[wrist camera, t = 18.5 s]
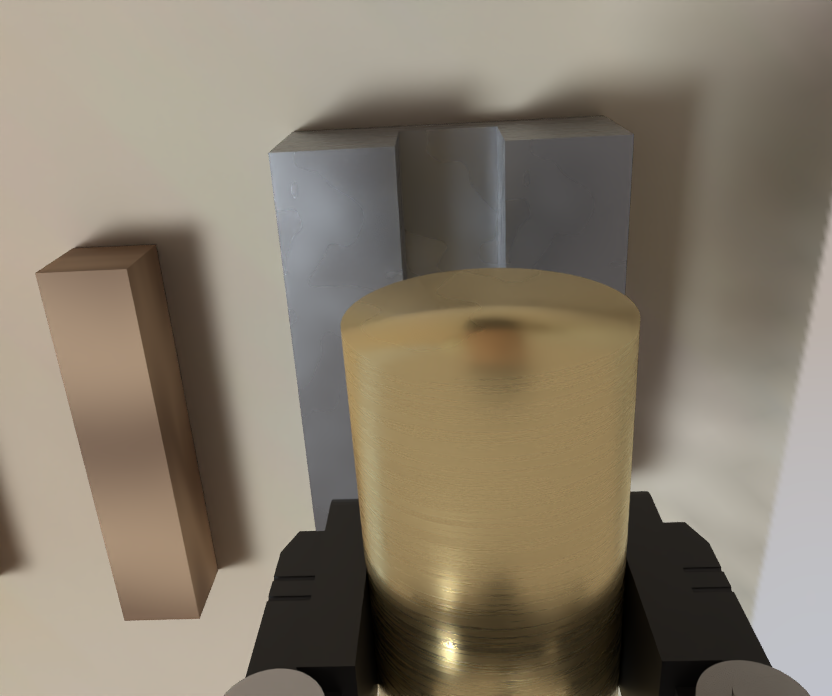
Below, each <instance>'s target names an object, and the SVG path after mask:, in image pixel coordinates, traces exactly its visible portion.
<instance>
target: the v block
mask: <svg viewBox="0 0 832 696" xmlns="http://www.w3.org/2000/svg"><path fill="white" fill-rule="evenodd" d="M633 143H634V134H633V133H631V132H629V131H628V130H626V129H625V128H623V127H621V126H620V125H618V124H616V123H615V122H613V121H612V120H610V119H608V118H607V117H605V116H588V117H569V118H550V119H531V120H511V121H492V122H473V123H454V124H435V125H415V126H396V127H377V128H358V129H339V130H319V131H300V132H292V133H291V134H290V135H288V136H287V137H286V138H285V139H284V140H283V141H282V142H280V143H279V144H278V145H277V146H276V147H275V148H274V149H272V150H271V151H270V152H269V153H268V154H269V161H270V169H271V177H272V185H273V193H274V201H275V209H276V217H277V225H278V233H279V241H280V249H281V257H282V265H283V273H284V281H285V289H286V297H287V305H288V313H289V321H290V329H291V337H292V344H293V352H294V360H295V368H296V376H297V384H298V392H299V400H300V408H301V416H302V424H303V432H304V440H305V448H306V456H307V464H308V472H309V480H310V488H311V496H312V504H313V512H314V519H315V527H316V531H325V528H326V523H327V518H328V513H329V509H330V504H331V501H332V499H358V489H357V480H356V470H355V461H354V451H353V442H352V432H351V422H350V413H349V403H348V394H347V384H346V375H345V365H344V356H343V346H342V337H341V325H340V324H341V320H342V317H343V315H344V314H345V312H346V311H347V310H348V309H349V308H350V307H351V306H352V305H353V304H354V303H355V302H356V301H358V300H359V299H361V298H362V297H364V296H366V295H367V294H369V293H371V292H373V291H375V290H377V289H380V288H382V287H385V286H387V285H390V284H393V283H396V282H399V281H403V280H406V279H410V278H414V277H418V276H423V275H428V274H434V273H439V272H446V271H454V270H464V269H479V268H522V269H536V270H545V271H553V272H559V273H565V274H570V275H575V276H579V277H583V278H587V279H590V280H593V281H596V282H599V283H602V284H604V285H607V286H609V287H611V288H613V289H615V290H617V291H619V292H621V293H622V294H624V295H625V286H626V268H627V250H628V232H629V215H630V197H631V179H632V161H633Z"/></svg>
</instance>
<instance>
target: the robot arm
mask: <svg viewBox="0 0 832 696" xmlns="http://www.w3.org/2000/svg"><path fill="white" fill-rule="evenodd" d="M268 597H269V600H268V601H267V603H266V607H265V610H264V614H263V617H262V621H261V624H260V628H259V632H258V635H257V639H256V642H255V646H254V649H253V653H252V656H251V660H250V663H249V667H248V671H247V674H246V677H245V678H244V679H243V680H241V681H239V682H238V683H237V684H235V685H234V686H233V687H232V688H230V689H229V690H228V691H227V692H226V693H225V695H224V696H377V692H378V677H377V667H376V657H375V647H374V636H373V626H372V616H371V606H370V596H369V585H368V575H367V567H366V564H365V556H364V546H363V537H362V527H361V518H360V508H359V499H332V501H331V504H330V509H329V513H328V518H327V523H326V528H325V531H299V533H298V534H297V535H296V536H295V537H294V538H293V539H292V540H291V542H290V543H289V544H288V545H287V546H286V547H285V548H284V549H283V551H282V552H281V554H280V557H279V561H278V564H277V568H276V571H275V575H274V581H273V582H272V585H271V589H270V593H269V596H268ZM619 688H620V692H621V695H622V696H810V695H809V694H808V692H807V691H806V690H805V689H804V688H803V687H802V686H801V685H800V684H799V683H798V682H796V681H795V680H794V679H792V678H791V677H789V676H788V675H786V674H784V673H783V672H781V671H779V670H777V669H774V668H772V666H771V664H770V662H769V660H768V658H767V656H766V654H765V652H764V650H763V648H762V646H761V644H760V642H759V640H758V639H757V637H756V635H755V633H754V631H753V629H752V627H751V625H750V623H749V621H748V619H747V617H746V615H745V613H744V611H743V609H742V607H741V605H740V603H739V601H738V599H737V597H736V595H735V593H734V592H732V591H731V585H730V583H729V582H728V580H727V578H726V576H725V574H724V572H722V571H721V566H720V564H719V562H718V560H717V558H716V556H715V554H714V552H713V550H712V548H711V546H710V544H709V542H707V541H706V540H705V539H704V538H703V537H701V536H700V535H699V534H698V533H697V532H696V531H694V530H693V529H692V528H691V527H690V526H689V525H687V524H686V523H685V522H672V523H663V522H662V520H661V518H660V515H659V513H658V511H657V508H656V506H655V504H654V502H653V499H652V497H651V495H650V494H649V492H647V491H639V492H630V502H629V519H628V536H627V553H626V569H625V586H624V603H623V619H622V636H621V653H620V670H619Z"/></svg>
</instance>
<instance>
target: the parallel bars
mask: <svg viewBox="0 0 832 696" xmlns="http://www.w3.org/2000/svg"><path fill="white" fill-rule="evenodd" d="M35 274H36V278H37V282H38V286H39V290H40V294H41V298H42V302H43V305H44V309H45V313H46V317H47V321H48V325H49V329H50V333H51V336H52V340H53V344H54V348H55V352H56V356H57V360H58V364H59V368H60V371H61V375H62V379H63V383H64V387H65V391H66V395H67V399H68V403H69V406H70V410H71V414H72V418H73V422H74V426H75V430H76V434H77V438H78V441H79V445H80V449H81V453H82V457H83V461H84V465H85V469H86V472H87V476H88V480H89V484H90V488H91V492H92V496H93V500H94V504H95V507H96V511H97V515H98V519H99V523H100V527H101V531H102V535H103V539H104V542H105V546H106V550H107V554H108V558H109V562H110V566H111V570H112V574H113V577H114V581H115V585H116V589H117V593H118V597H119V601H120V605H121V608H122V612H123V616H124V620H125V621H130V620H166V619H200V616H201V613H202V611H203V608H204V606H205V603H206V600H207V598H208V595H209V592H210V590H211V587H212V585H213V582H214V579H215V577H216V574H217V572H218V568H217V563H216V558H215V553H214V547H213V542H212V537H211V532H210V526H209V521H208V516H207V511H206V505H205V500H204V495H203V490H202V484H201V479H200V474H199V469H198V463H197V458H196V453H195V448H194V442H193V437H192V432H191V427H190V421H189V416H188V411H187V406H186V400H185V395H184V390H183V385H182V379H181V374H180V369H179V364H178V358H177V353H176V348H175V343H174V337H173V332H172V327H171V322H170V316H169V311H168V306H167V301H166V295H165V290H164V285H163V280H162V274H161V269H160V264H159V259H158V253H157V248H156V244H154V245H133V246H112V247H90V248H73V249H71V250H70V251H68V252H67V253H65V254H64V255H62V256H61V257H59V258H58V259H56V260H54V261H53V262H51V263H50V264H48V265H47V266H45V267H44V268H42V269H41V270H39V271H38V272H36V273H35Z"/></svg>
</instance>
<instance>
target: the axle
mask: <svg viewBox="0 0 832 696" xmlns="http://www.w3.org/2000/svg"><path fill="white" fill-rule="evenodd" d="M340 325H341V337H342V346H343V356H344V365H345V375H346V384H347V394H348V403H349V413H350V422H351V432H352V442H353V451H354V461H355V470H356V480H357V489H358V499H359V508H360V518H361V527H362V537H363V546H364V556H365V564H366V567H367V575H368V585H369V596H370V606H371V616H372V626H373V636H374V647H375V657H376V667H377V677H378V689H379V696H618V687H619V670H620V653H621V636H622V619H623V603H624V586H625V569H626V553H627V536H628V519H629V502H630V485H631V468H632V452H633V435H634V418H635V401H636V384H637V367H638V351H639V334H640V314H639V310H638V309H637V307H636V306H635V304H634V303H633V302H632V301H631V300H630V299H629V298H628V297H627V296H625V295H624V294H622V293H621V292H619V291H617V290H615V289H613V288H611V287H609V286H607V285H604V284H602V283H599V282H596V281H593V280H590V279H587V278H583V277H579V276H575V275H570V274H565V273H559V272H553V271H545V270H536V269H522V268H479V269H464V270H454V271H446V272H439V273H434V274H428V275H423V276H418V277H414V278H410V279H406V280H403V281H399V282H396V283H393V284H390V285H387V286H385V287H382V288H380V289H377V290H375V291H373V292H371V293H369V294H367V295H366V296H364V297H362V298H361V299H359V300H358V301H356V302H355V303H354V304H353V305H352V306H351V307H350V308H349V309H348V310H347V311H346V312H345V314H344V315H343V317H342V320H341V324H340Z"/></svg>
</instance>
